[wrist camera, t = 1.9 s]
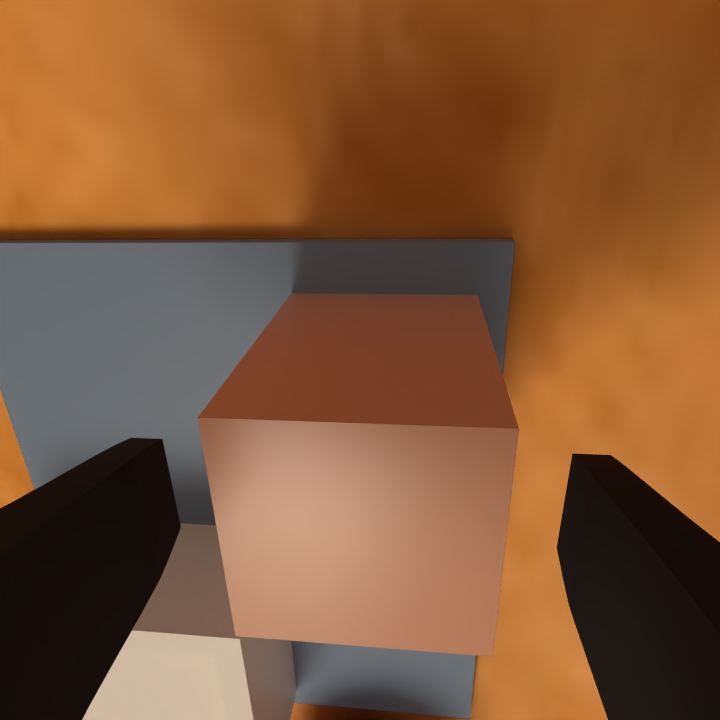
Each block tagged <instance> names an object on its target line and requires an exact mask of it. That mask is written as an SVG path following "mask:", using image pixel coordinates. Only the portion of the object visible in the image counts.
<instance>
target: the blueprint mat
mask: <svg viewBox="0 0 720 720" xmlns="http://www.w3.org/2000/svg"><path fill="white" fill-rule="evenodd" d="M514 247H515V241H514V240H513V239H512V238H449V239H140V240H0V390H1V393H2V396H3V399H4V402H5V405H6V408H7V410H8V413H9V416H10V419H11V422H12V425H13V428H14V431H15V434H16V437H17V440H18V443H19V446H20V448H21V451H22V454H23V457H24V460H25V463H26V466H27V469H28V472H29V475H30V478H31V481H32V484H33V486H34V489H37V488H38V487H40V486H42V485H44V484H46V483H47V482H49V481H51V480H53V479H54V478H56V477H58V476H60V475H62V474H63V473H65V472H67V471H69V470H70V469H72V468H74V467H76V466H77V465H79V464H81V463H83V462H84V461H86V460H88V459H90V458H92V457H93V456H95V455H97V454H99V453H101V452H103V451H104V450H106V449H108V448H110V447H112V446H114V445H116V444H118V443H120V442H122V441H125V440H127V439H129V438H154V439H163V444H164V449H165V453H166V458H167V463H168V468H169V472H170V477H171V482H172V486H173V491H174V496H175V501H176V505H177V510H178V515H179V520H180V523H183V524H201V525H216V521H215V516H214V510H213V504H212V498H211V493H210V487H209V481H208V475H207V470H206V464H205V458H204V453H203V447H202V441H201V435H200V430H199V424H198V416H199V415H200V414H201V412H202V411H203V410H204V408H205V407H206V406H207V404H208V403H209V402H210V400H211V399H212V398H213V396H214V395H215V394H216V392H217V391H218V390H219V388H220V387H221V386H222V385H223V383H224V382H225V381H226V379H227V378H228V377H229V375H230V374H231V373H232V371H233V370H234V369H235V367H236V366H237V365H238V363H239V362H240V361H241V359H242V358H243V357H244V355H245V354H246V353H247V351H248V350H249V349H250V347H251V346H252V345H253V343H254V342H255V341H256V340H257V338H258V337H259V336H260V334H261V333H262V332H263V330H264V329H265V328H266V326H267V325H268V324H269V322H270V321H271V320H272V318H273V317H274V316H275V314H276V313H277V312H278V310H279V309H280V308H281V306H282V305H283V304H284V302H285V301H286V300H287V298H288V297H289V296H290V295H291V293H304V294H427V295H478V298H479V301H480V305H481V308H482V311H483V314H484V318H485V321H486V324H487V327H488V330H489V334H490V337H491V340H492V343H493V347H494V350H495V353H496V356H497V360H498V363H499V366H500V369H501V373H502V374H503V363H504V353H505V342H506V332H507V321H508V311H509V300H510V290H511V279H512V268H513V258H514ZM291 644H292V652H293V661H294V670H295V679H296V688H297V691H296V695H295V700H294V703H305V704H315V705H326V706H337V707H347V708H358V709H369V710H380V711H390V712H401V713H412V714H422V715H433V716H444V717H454V718H465V719H470V712H471V701H472V691H473V680H474V670H475V659H476V655H464V654H451V653H439V652H427V651H414V650H402V649H389V648H377V647H365V646H352V645H340V644H327V643H315V642H303V641H291Z"/></svg>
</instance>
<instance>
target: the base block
mask: <svg viewBox="0 0 720 720" xmlns="http://www.w3.org/2000/svg"><path fill="white" fill-rule="evenodd" d="M180 524H181V529H180V531H179V534H178V536H177V539H176V542H175V544H174V547H173V550H172V552H171V555H170V557H169V560H168V562H167V564H166V567H165V569H164V571H163V574H162V576H161V579H160V580H159V582H158V584H157V586H156V588H155V590H154V592H153V593H152V595H151V597H150V599H149V601H148V603H147V604H146V606H145V608H144V610H143V612H142V613H141V615H140V617H139V619H138V621H137V622H136V624H135V626H134V628H133V629H132V631H131V633H130V635H129V637H128V638H127V640H126V642H125V644H124V645H123V647H122V649H121V651H120V652H119V654H118V656H117V658H116V660H115V661H114V663H113V665H112V667H111V668H110V670H109V672H108V674H107V676H106V677H105V679H104V681H103V683H102V684H101V686H100V688H99V690H98V691H97V693H96V695H95V697H94V699H93V700H92V702H91V704H90V706H89V708H88V710H87V712H86V714H85V716H84V717H83V719H82V720H290V718H291V713H292V709H293V704H294V700H295V695H296V691H297V688H296V679H295V670H294V661H293V652H292V644H291V641H290V640H278V639H266V638H253V637H241V636H235V630H234V625H233V619H232V613H231V607H230V602H229V596H228V590H227V584H226V579H225V573H224V567H223V561H222V556H221V550H220V544H219V539H218V533H217V527H216V525H201V524H183V523H180Z"/></svg>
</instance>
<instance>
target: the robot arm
mask: <svg viewBox="0 0 720 720" xmlns="http://www.w3.org/2000/svg"><path fill="white" fill-rule="evenodd" d="M180 529H181V524H180V520H179V515H178V510H177V505H176V501H175V496H174V491H173V486H172V482H171V477H170V472H169V468H168V463H167V458H166V453H165V449H164V444H163V439H154V438H129V439H127V440H125V441H122V442H120V443H118V444H116V445H114V446H112V447H110V448H108V449H106V450H104V451H103V452H101V453H99V454H97V455H95V456H93V457H92V458H90V459H88V460H86V461H84V462H83V463H81V464H79V465H77V466H76V467H74V468H72V469H70V470H69V471H67V472H65V473H63V474H62V475H60V476H58V477H56V478H54V479H53V480H51V481H49V482H47V483H46V484H44V485H42V486H40V487H38V488H37V489H35V490H33V491H31V492H30V493H28V494H26V495H24V496H23V497H21V498H19V499H17V500H15V501H14V502H12V503H10V504H8V505H6V506H4V507H2V508H0V720H82V719H83V717H84V716H85V714H86V712H87V710H88V708H89V706H90V704H91V702H92V700H93V699H94V697H95V695H96V693H97V691H98V690H99V688H100V686H101V684H102V683H103V681H104V679H105V677H106V676H107V674H108V672H109V670H110V668H111V667H112V665H113V663H114V661H115V660H116V658H117V656H118V654H119V652H120V651H121V649H122V647H123V645H124V644H125V642H126V640H127V638H128V637H129V635H130V633H131V631H132V629H133V628H134V626H135V624H136V622H137V621H138V619H139V617H140V615H141V613H142V612H143V610H144V608H145V606H146V604H147V603H148V601H149V599H150V597H151V595H152V593H153V592H154V590H155V588H156V586H157V584H158V582H159V580H160V579H161V576H162V574H163V571H164V569H165V567H166V564H167V562H168V560H169V557H170V555H171V552H172V550H173V547H174V544H175V542H176V539H177V536H178V534H179V531H180ZM557 551H558V556H559V561H560V566H561V571H562V576H563V580H564V585H565V589H566V594H567V598H568V603H569V606H570V609H571V613H572V616H573V619H574V622H575V625H576V628H577V630H578V633H579V636H580V639H581V642H582V645H583V648H584V651H585V654H586V657H587V660H588V663H589V666H590V668H591V671H592V674H593V677H594V680H595V683H596V686H597V689H598V692H599V694H600V697H601V700H602V703H603V706H604V709H605V712H606V715H607V718H608V720H720V542H719V541H717V540H716V539H715V538H713V537H712V536H711V535H710V534H708V533H707V532H706V531H704V530H703V529H702V528H701V527H699V526H698V525H697V524H696V523H694V522H693V521H692V520H691V519H689V518H688V517H687V516H686V515H684V514H683V513H682V512H681V511H679V510H678V509H677V508H676V507H675V506H673V505H672V504H671V503H670V502H668V501H667V500H666V499H665V498H664V497H662V496H661V495H660V494H659V493H657V492H656V491H655V490H654V489H653V488H651V487H650V486H649V485H648V484H647V483H645V482H644V481H643V480H642V479H640V478H639V477H638V476H637V475H636V474H634V473H633V472H632V471H631V470H629V469H628V468H627V467H626V466H624V465H623V464H622V463H621V462H619V461H618V460H617V459H615V458H614V457H613V456H611V455H593V454H572V460H571V466H570V472H569V478H568V484H567V490H566V496H565V502H564V508H563V514H562V520H561V526H560V532H559V538H558V544H557Z"/></svg>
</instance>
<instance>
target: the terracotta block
mask: <svg viewBox="0 0 720 720" xmlns="http://www.w3.org/2000/svg"><path fill="white" fill-rule="evenodd" d="M198 424H199V430H200V435H201V441H202V447H203V453H204V458H205V464H206V470H207V475H208V481H209V487H210V493H211V498H212V504H213V510H214V516H215V521H216V527H217V533H218V539H219V544H220V550H221V556H222V561H223V567H224V573H225V579H226V584H227V590H228V596H229V602H230V607H231V613H232V619H233V625H234V630H235V636H241V637H253V638H266V639H278V640H290V641H303V642H315V643H327V644H340V645H352V646H365V647H377V648H389V649H402V650H414V651H427V652H439V653H451V654H464V655H476V656H489V657H493V651H494V642H495V633H496V625H497V616H498V607H499V598H500V590H501V581H502V572H503V563H504V555H505V546H506V537H507V528H508V520H509V511H510V502H511V493H512V485H513V476H514V467H515V458H516V450H517V441H518V432H519V428H518V424H517V421H516V418H515V415H514V411H513V408H512V405H511V402H510V399H509V395H508V392H507V389H506V386H505V382H504V379H503V376H502V373H501V369H500V366H499V363H498V360H497V356H496V353H495V350H494V347H493V343H492V340H491V337H490V334H489V330H488V327H487V324H486V321H485V318H484V314H483V311H482V308H481V305H480V301H479V298H478V295H427V294H304V293H291V295H290V296H289V297H288V298H287V300H286V301H285V302H284V304H283V305H282V306H281V308H280V309H279V310H278V312H277V313H276V314H275V316H274V317H273V318H272V320H271V321H270V322H269V324H268V325H267V326H266V328H265V329H264V330H263V332H262V333H261V334H260V336H259V337H258V338H257V340H256V341H255V342H254V343H253V345H252V346H251V347H250V349H249V350H248V351H247V353H246V354H245V355H244V357H243V358H242V359H241V361H240V362H239V363H238V365H237V366H236V367H235V369H234V370H233V371H232V373H231V374H230V375H229V377H228V378H227V379H226V381H225V382H224V383H223V385H222V386H221V387H220V388H219V390H218V391H217V392H216V394H215V395H214V396H213V398H212V399H211V400H210V402H209V403H208V404H207V406H206V407H205V408H204V410H203V411H202V412H201V414H200V415H199V416H198Z"/></svg>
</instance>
